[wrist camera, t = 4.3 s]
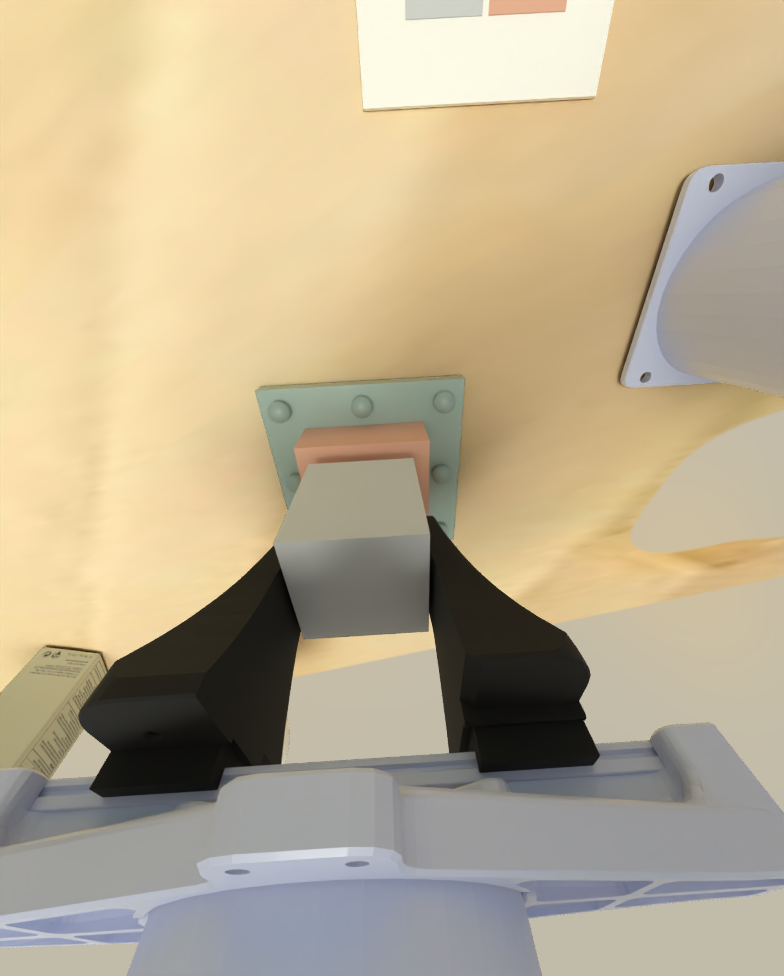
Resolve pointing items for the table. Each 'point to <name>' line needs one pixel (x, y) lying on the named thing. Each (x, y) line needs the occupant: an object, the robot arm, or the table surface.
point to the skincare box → (46, 708)
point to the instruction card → (479, 51)
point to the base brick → (367, 447)
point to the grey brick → (357, 550)
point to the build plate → (369, 405)
